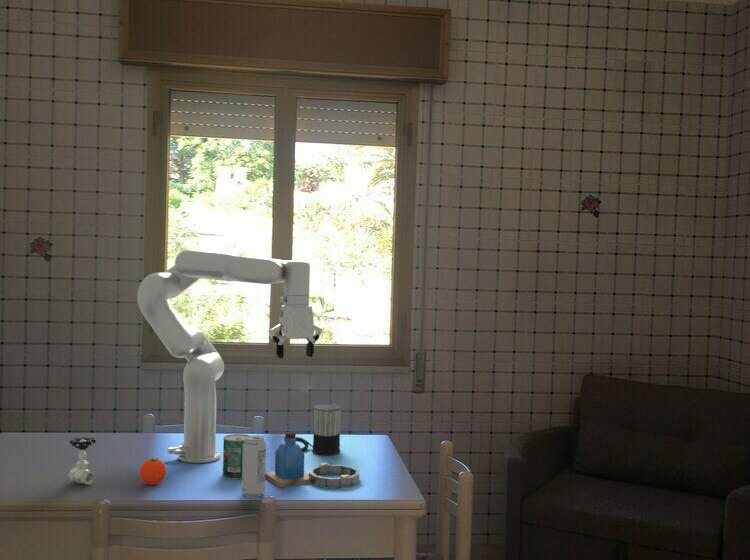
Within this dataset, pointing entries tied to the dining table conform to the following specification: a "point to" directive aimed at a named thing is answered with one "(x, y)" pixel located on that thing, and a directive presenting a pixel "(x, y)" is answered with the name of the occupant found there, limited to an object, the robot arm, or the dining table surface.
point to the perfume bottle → (289, 458)
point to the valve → (82, 462)
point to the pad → (287, 482)
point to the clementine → (152, 471)
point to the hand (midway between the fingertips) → (295, 357)
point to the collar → (346, 479)
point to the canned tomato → (233, 456)
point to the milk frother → (325, 430)
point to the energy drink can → (253, 466)
